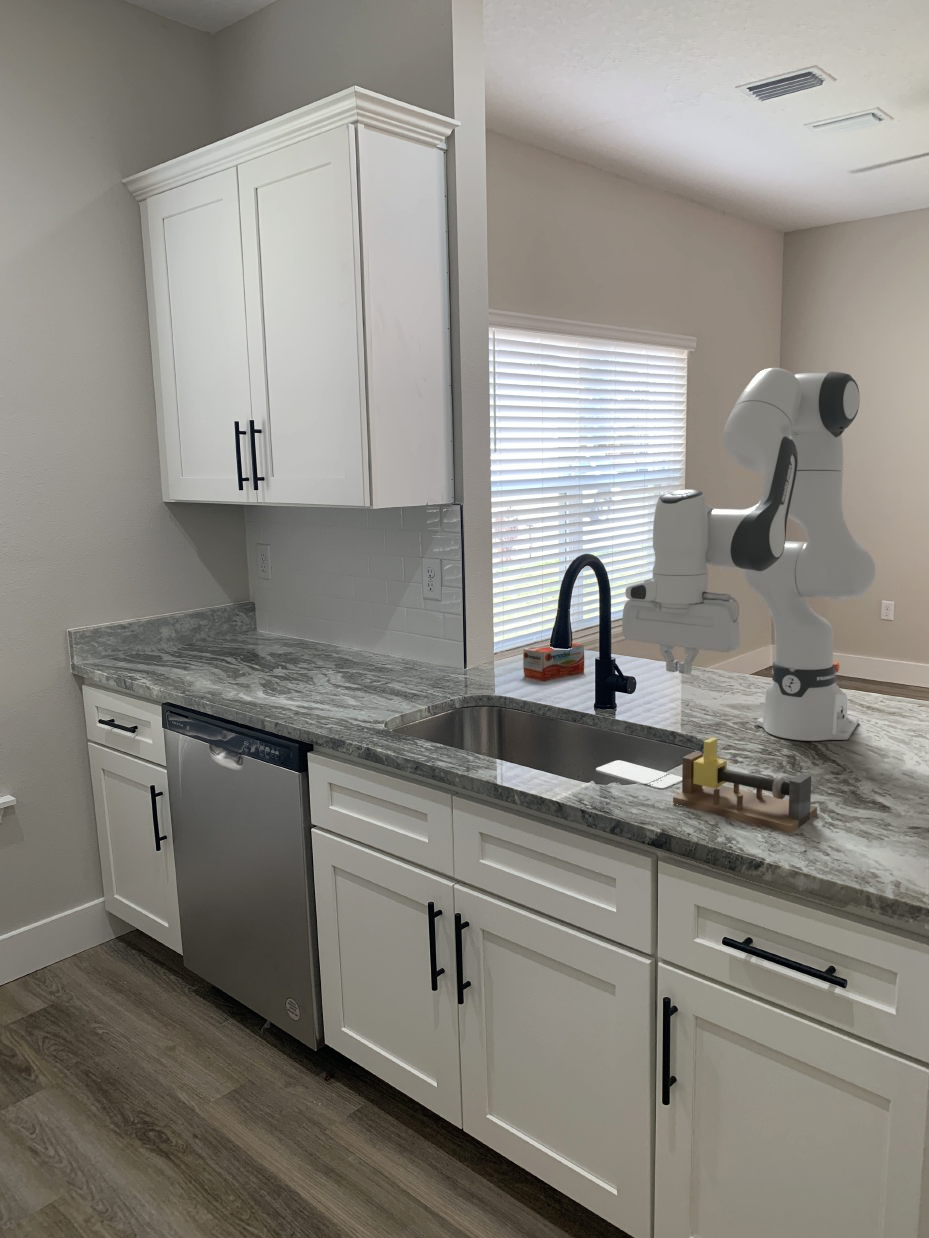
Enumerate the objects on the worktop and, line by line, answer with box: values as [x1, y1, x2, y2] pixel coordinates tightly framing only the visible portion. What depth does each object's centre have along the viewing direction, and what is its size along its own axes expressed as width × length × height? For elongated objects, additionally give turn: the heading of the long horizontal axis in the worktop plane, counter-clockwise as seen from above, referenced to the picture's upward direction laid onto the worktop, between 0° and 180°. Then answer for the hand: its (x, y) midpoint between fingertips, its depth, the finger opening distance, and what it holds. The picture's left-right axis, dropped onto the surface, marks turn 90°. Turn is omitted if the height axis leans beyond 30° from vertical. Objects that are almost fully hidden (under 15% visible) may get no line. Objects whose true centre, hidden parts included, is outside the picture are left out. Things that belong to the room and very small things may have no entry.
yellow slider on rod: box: [672, 751, 818, 834], centre depth 152 cm, size 20×10×7 cm, turn 48°
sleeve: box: [693, 737, 728, 789], centre depth 155 cm, size 4×4×7 cm
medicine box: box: [522, 642, 585, 682], centre depth 249 cm, size 15×8×8 cm, turn 128°
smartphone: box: [595, 759, 682, 790], centre depth 170 cm, size 7×1×15 cm
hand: (678, 672), depth 157 cm, fingers closed
